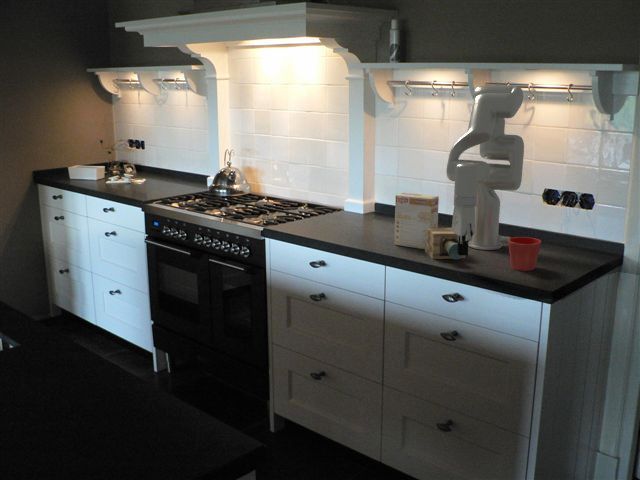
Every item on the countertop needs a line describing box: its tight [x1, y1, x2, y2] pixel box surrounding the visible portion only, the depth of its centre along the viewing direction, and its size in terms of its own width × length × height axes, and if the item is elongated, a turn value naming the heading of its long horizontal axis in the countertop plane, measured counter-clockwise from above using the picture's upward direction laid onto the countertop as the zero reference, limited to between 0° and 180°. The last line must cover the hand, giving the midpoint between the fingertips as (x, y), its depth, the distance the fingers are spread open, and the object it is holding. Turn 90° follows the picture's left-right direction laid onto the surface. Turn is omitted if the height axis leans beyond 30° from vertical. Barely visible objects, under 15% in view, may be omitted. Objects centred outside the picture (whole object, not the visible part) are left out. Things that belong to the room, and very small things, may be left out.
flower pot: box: [507, 236, 542, 272], centre depth 240 cm, size 11×11×10 cm
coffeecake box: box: [393, 192, 440, 250], centre depth 269 cm, size 15×7×20 cm, turn 56°
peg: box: [443, 239, 463, 260], centre depth 249 cm, size 11×6×6 cm, turn 8°
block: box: [424, 227, 467, 260], centre depth 256 cm, size 10×12×9 cm
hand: (462, 254), depth 238 cm, fingers closed
